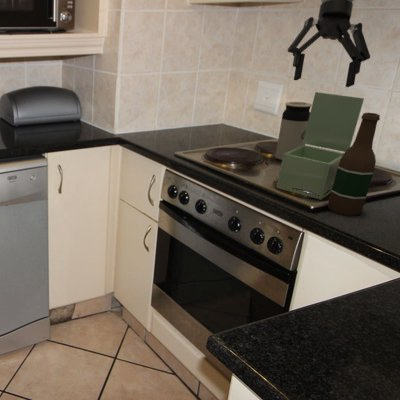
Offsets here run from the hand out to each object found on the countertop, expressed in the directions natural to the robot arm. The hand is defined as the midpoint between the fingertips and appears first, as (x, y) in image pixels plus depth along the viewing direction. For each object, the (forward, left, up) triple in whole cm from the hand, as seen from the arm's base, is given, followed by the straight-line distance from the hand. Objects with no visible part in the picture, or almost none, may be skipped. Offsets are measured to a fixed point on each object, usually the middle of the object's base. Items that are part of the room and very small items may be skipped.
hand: (323, 82), depth 128 cm
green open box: (-6, +4, -28) cm, 28 cm away
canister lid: (-4, -2, -10) cm, 11 cm away
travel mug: (+14, -14, -28) cm, 34 cm away
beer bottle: (-20, +10, -28) cm, 35 cm away
